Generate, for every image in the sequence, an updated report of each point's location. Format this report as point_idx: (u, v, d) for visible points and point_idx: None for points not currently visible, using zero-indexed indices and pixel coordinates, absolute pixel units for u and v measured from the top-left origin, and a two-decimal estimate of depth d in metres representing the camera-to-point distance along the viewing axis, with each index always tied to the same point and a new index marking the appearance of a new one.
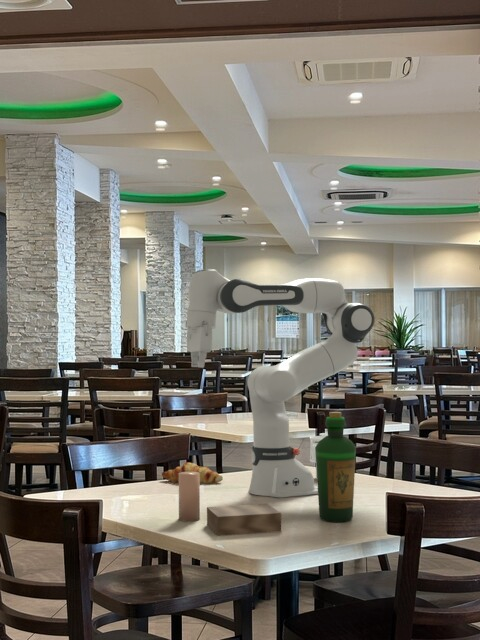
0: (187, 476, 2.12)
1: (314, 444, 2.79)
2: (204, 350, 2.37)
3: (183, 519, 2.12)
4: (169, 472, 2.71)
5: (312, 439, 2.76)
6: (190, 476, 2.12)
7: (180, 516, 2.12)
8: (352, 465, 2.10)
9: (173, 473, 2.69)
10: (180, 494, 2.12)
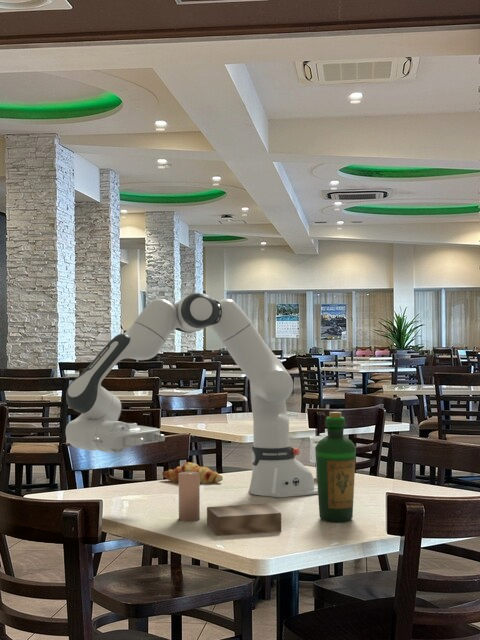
0: (187, 476, 2.11)
1: (314, 444, 2.79)
2: (115, 443, 2.15)
3: (183, 519, 2.12)
4: (169, 472, 2.71)
5: (312, 439, 2.76)
6: (190, 476, 2.12)
7: (180, 516, 2.12)
8: (352, 465, 2.10)
9: (173, 473, 2.70)
10: (180, 494, 2.12)
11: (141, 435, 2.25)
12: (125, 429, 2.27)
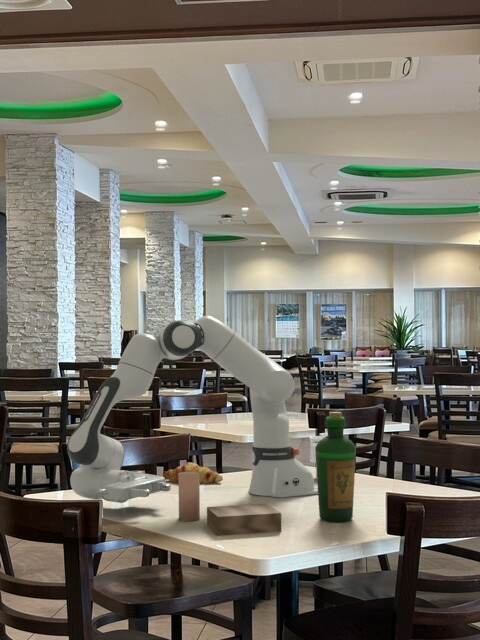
0: (187, 476, 2.12)
1: (314, 444, 2.79)
2: (120, 496, 2.14)
3: (183, 519, 2.12)
4: (170, 472, 2.71)
5: (312, 439, 2.76)
6: (190, 476, 2.12)
7: (180, 516, 2.12)
8: (352, 465, 2.10)
9: (173, 473, 2.70)
10: (180, 494, 2.12)
11: (147, 485, 2.24)
12: (130, 479, 2.26)
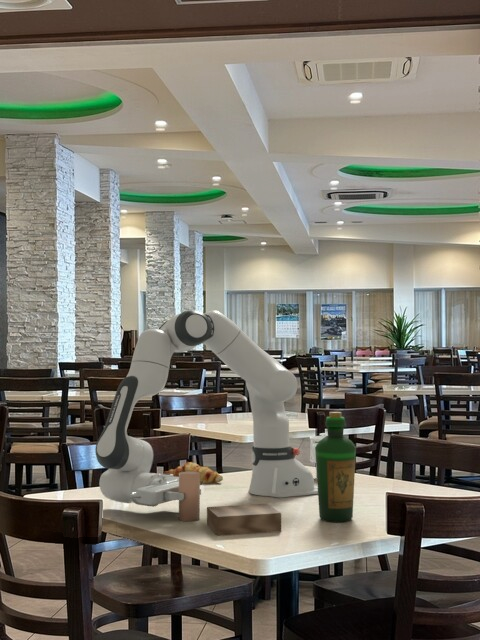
0: (187, 476, 2.11)
1: (314, 444, 2.79)
2: (154, 499, 2.08)
3: (183, 519, 2.12)
4: (170, 471, 2.72)
5: (312, 439, 2.76)
6: (190, 476, 2.12)
7: (180, 516, 2.12)
8: (352, 465, 2.10)
9: (174, 472, 2.70)
10: None
11: None
12: (162, 482, 2.20)
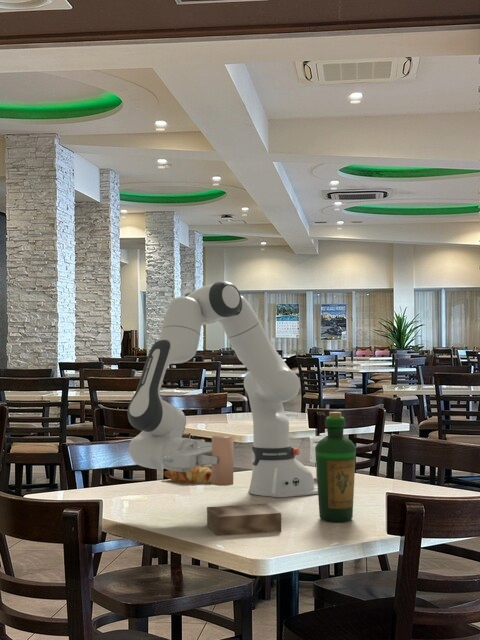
0: (221, 439, 2.05)
1: (314, 444, 2.79)
2: (187, 463, 2.02)
3: (216, 483, 2.05)
4: (171, 471, 2.72)
5: (312, 439, 2.76)
6: (224, 439, 2.05)
7: (213, 480, 2.06)
8: (352, 465, 2.10)
9: (174, 472, 2.71)
10: None
11: None
12: (194, 446, 2.14)
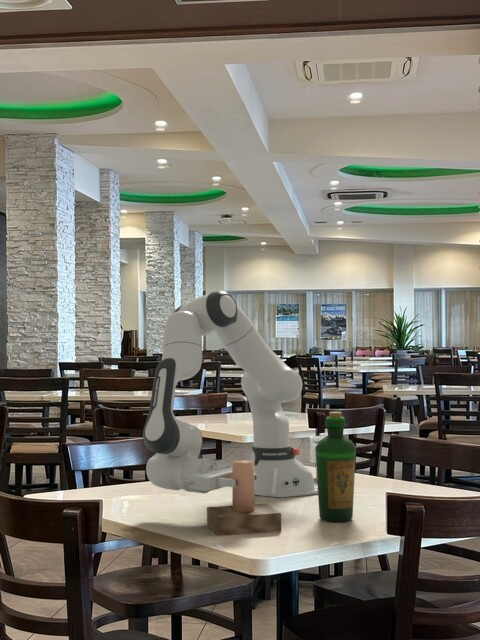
0: (242, 465, 2.01)
1: (314, 444, 2.79)
2: (207, 485, 1.98)
3: (238, 510, 2.01)
4: None
5: (312, 439, 2.76)
6: (245, 465, 2.01)
7: (234, 507, 2.02)
8: (352, 465, 2.10)
9: None
10: None
11: None
12: (213, 467, 2.10)
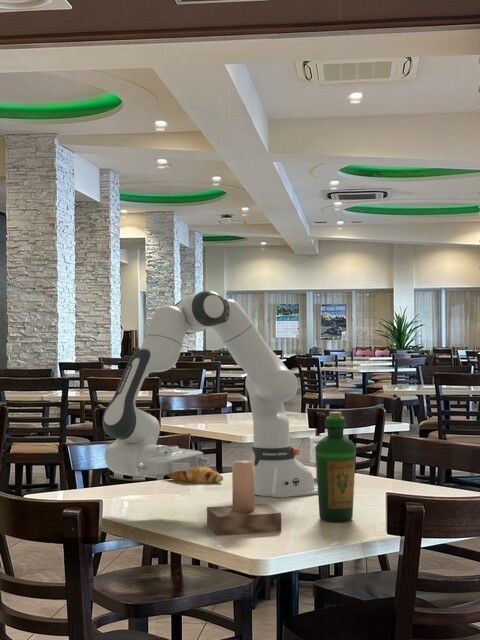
0: (242, 464, 2.01)
1: (314, 444, 2.79)
2: (160, 470, 2.07)
3: (238, 510, 2.01)
4: None
5: (312, 439, 2.76)
6: (245, 464, 2.01)
7: (234, 507, 2.02)
8: (352, 465, 2.10)
9: (175, 472, 2.72)
10: (234, 483, 2.02)
11: (185, 459, 2.17)
12: (168, 453, 2.19)
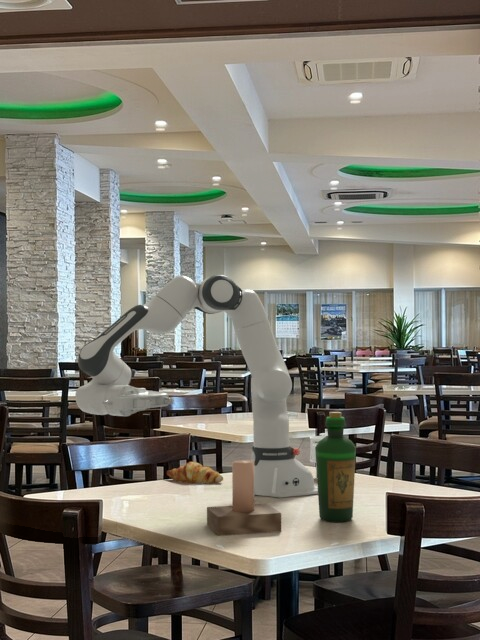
0: (242, 465, 2.01)
1: (314, 444, 2.79)
2: (124, 405, 2.19)
3: (238, 510, 2.01)
4: (173, 471, 2.73)
5: (312, 439, 2.76)
6: (245, 465, 2.01)
7: (234, 507, 2.02)
8: (352, 465, 2.10)
9: (176, 472, 2.72)
10: (234, 484, 2.02)
11: (150, 398, 2.29)
12: (134, 393, 2.31)
